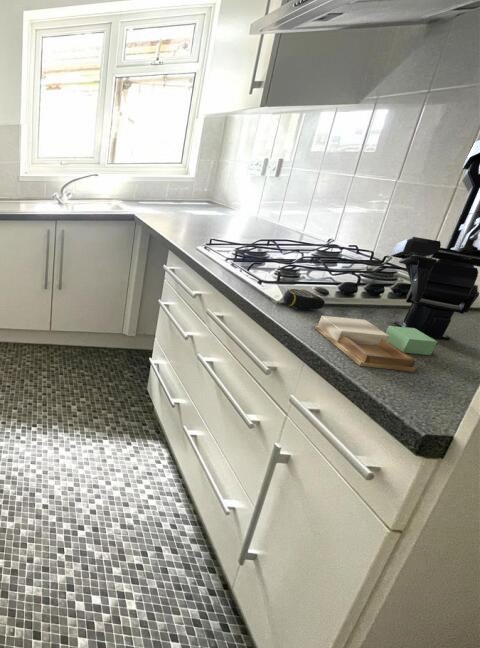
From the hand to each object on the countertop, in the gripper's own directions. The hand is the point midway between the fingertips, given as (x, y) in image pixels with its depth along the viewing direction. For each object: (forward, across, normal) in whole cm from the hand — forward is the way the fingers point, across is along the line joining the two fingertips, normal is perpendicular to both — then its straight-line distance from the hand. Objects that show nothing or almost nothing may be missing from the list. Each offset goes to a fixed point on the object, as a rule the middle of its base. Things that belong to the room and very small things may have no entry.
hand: (453, 310), depth 68 cm
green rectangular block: (+6, +2, +18) cm, 19 cm away
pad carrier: (+9, -6, +13) cm, 17 cm away
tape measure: (+3, -15, +31) cm, 34 cm away
